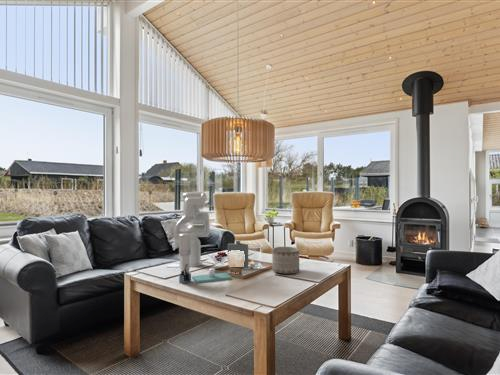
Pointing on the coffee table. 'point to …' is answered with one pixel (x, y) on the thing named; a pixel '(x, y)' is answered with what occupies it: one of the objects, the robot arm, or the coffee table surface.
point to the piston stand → (211, 277)
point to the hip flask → (242, 248)
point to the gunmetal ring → (181, 278)
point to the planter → (285, 260)
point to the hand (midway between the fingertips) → (185, 278)
